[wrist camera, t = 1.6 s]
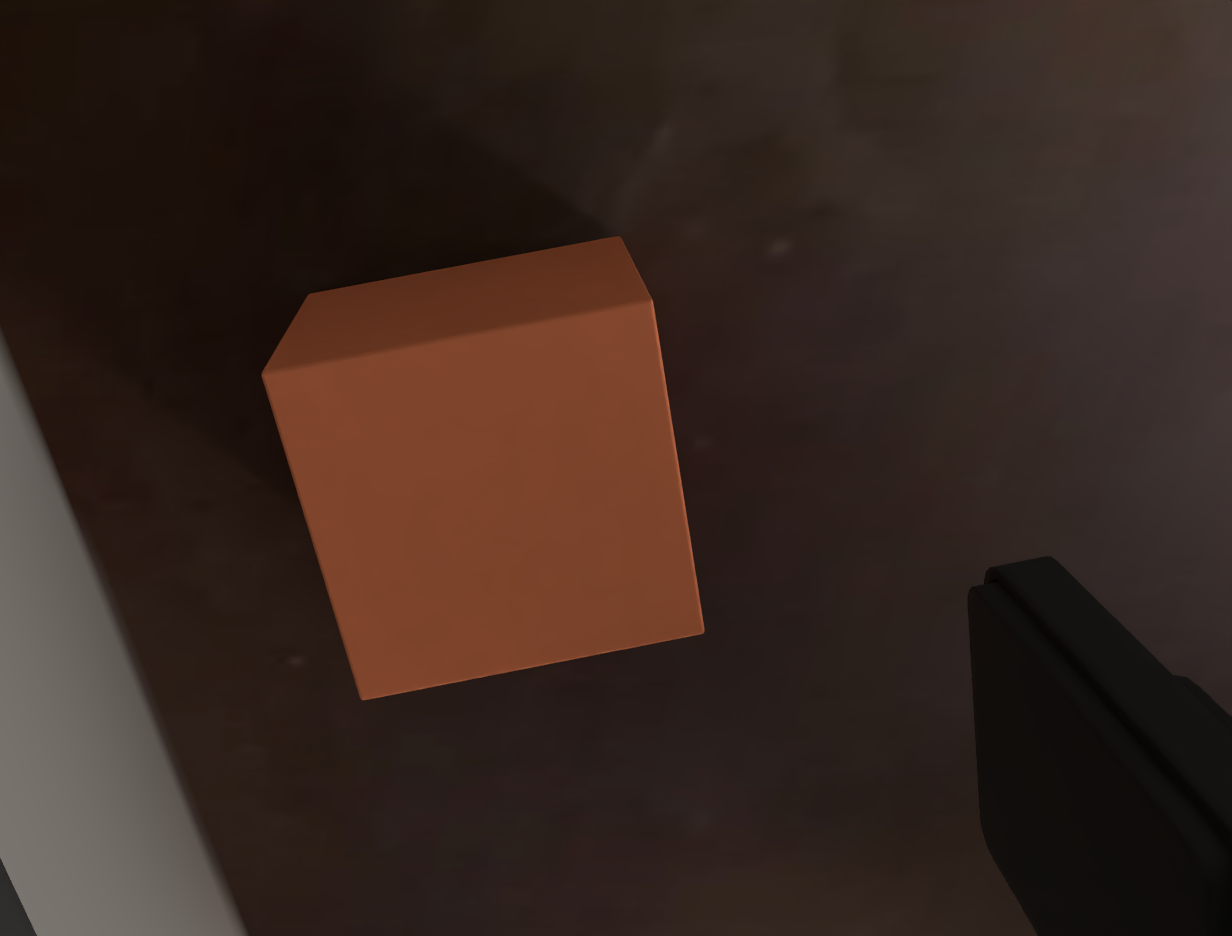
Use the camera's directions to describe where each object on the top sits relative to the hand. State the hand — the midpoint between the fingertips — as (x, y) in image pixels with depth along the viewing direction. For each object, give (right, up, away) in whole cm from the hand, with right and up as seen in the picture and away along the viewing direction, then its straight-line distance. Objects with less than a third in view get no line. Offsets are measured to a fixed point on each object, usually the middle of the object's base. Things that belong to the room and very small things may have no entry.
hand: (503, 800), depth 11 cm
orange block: (-1, +4, +8) cm, 9 cm away
